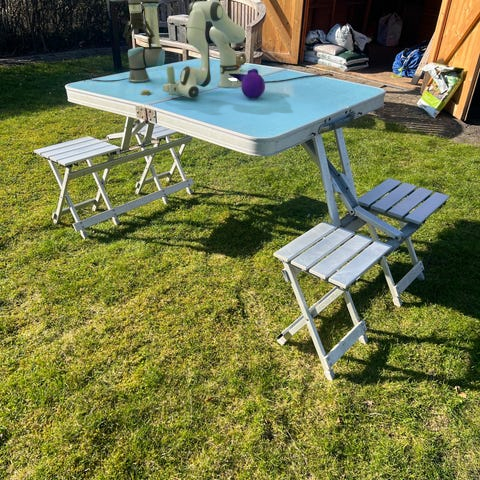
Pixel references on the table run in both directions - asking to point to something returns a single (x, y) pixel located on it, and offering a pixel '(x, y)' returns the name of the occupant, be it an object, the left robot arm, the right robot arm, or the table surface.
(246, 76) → the toy
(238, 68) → the beige patterned figurine
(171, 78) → the jar
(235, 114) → the table surface
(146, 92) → the lid
